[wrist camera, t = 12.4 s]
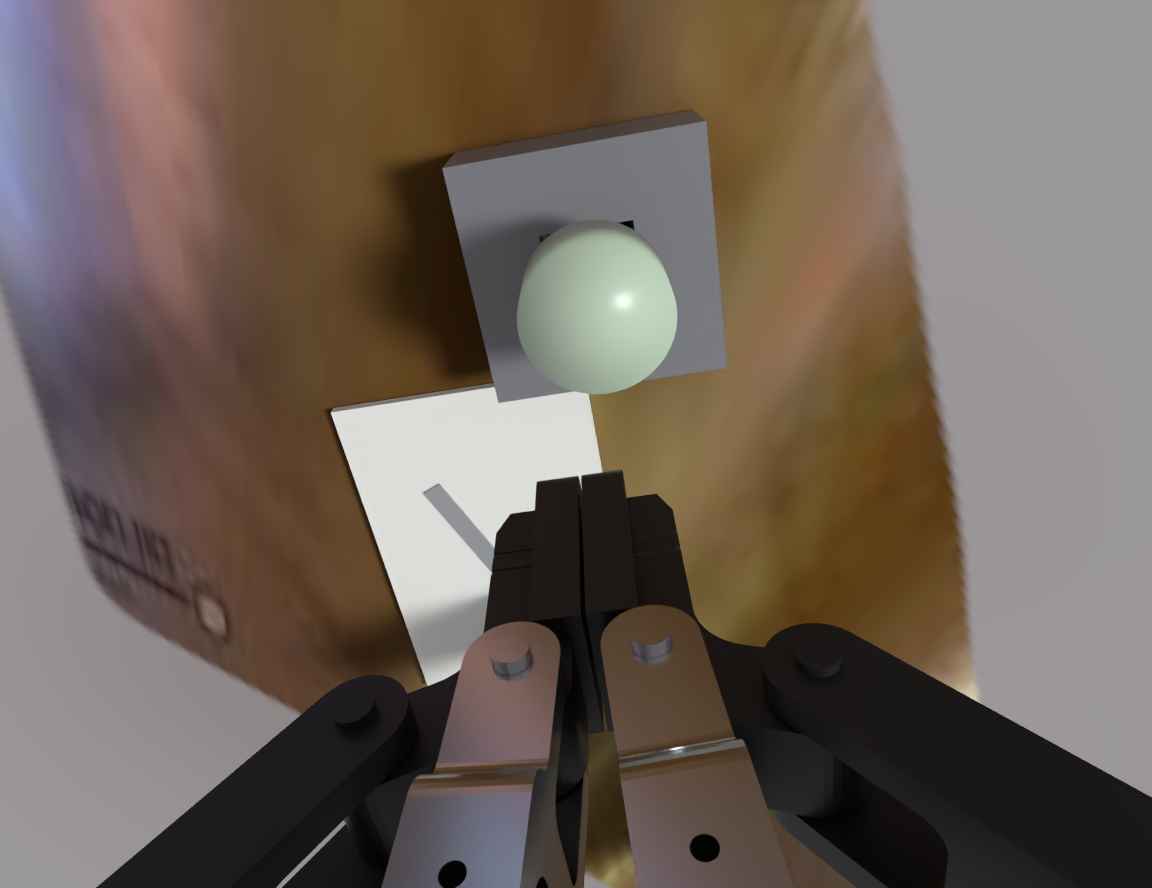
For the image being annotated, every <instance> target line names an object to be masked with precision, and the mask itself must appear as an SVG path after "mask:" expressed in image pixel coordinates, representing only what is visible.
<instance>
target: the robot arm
mask: <svg viewBox="0 0 1152 888" xmlns="http://www.w3.org/2000/svg"><path fill="white" fill-rule="evenodd" d="M581 487H582V489H581ZM602 701H603V702H602ZM603 706H604V711H605V716H606V721H607V726H608V731H614V734H615V741H616V747H617V753H618V766H619V773H620V779H621V786H622V792H623V798H624V805H625V811H626V817H627V824H628V830H629V836H630V843H631V849H632V855H633V862H634V868H635V874H636V881H637V887H638V888H794V886H793V883H792V880H791V877H790V874H789V872H788V869H787V866H786V863H785V860H784V857H783V854H782V851H781V848H780V845H779V842H778V839H777V836H776V833H775V830H774V827H773V824H772V821H771V818H770V815H769V812H768V809H771V810H772V812H773V814H774V816H775V818H776V819H777V821H778V822H779V823H780V825H781V826H782V827H783V828H784V829H785V830H786V831H787V832H789V833H790V834H791V835H792V836H794V837H795V838H796V839H797V840H798V841H800V842H801V843H802V844H803V845H805V846H806V847H807V848H808V849H810V850H811V851H812V852H813V853H814V854H816V855H817V856H818V857H819V858H821V859H822V860H823V861H824V862H826V863H827V864H828V865H829V866H830V867H832V868H833V869H834V870H835V871H837V872H838V873H839V874H840V875H842V876H843V877H844V878H845V879H846V880H848V881H849V882H850V883H851V884H853V885H854V886H855V887H856V888H1152V797H1150V796H1148V795H1146V794H1144V793H1143V792H1141V791H1139V790H1137V789H1135V788H1133V787H1132V786H1130V785H1128V784H1126V783H1124V782H1123V781H1121V780H1119V779H1117V778H1115V777H1113V776H1112V775H1110V774H1108V773H1106V772H1104V771H1102V770H1101V769H1099V768H1097V767H1095V766H1093V765H1092V764H1090V763H1088V762H1086V761H1084V760H1082V759H1081V758H1079V757H1077V756H1075V755H1073V754H1071V753H1070V752H1068V751H1066V750H1064V749H1062V748H1060V747H1059V746H1057V745H1055V744H1053V743H1051V742H1049V741H1048V740H1046V739H1044V738H1042V737H1040V736H1039V735H1037V734H1035V733H1033V732H1031V731H1029V730H1028V729H1026V728H1024V727H1022V726H1020V725H1018V724H1017V723H1015V722H1013V721H1011V720H1009V719H1008V718H1006V717H1004V716H1002V715H1000V714H998V713H997V712H995V711H993V710H991V709H989V708H987V707H986V706H984V705H982V704H980V703H978V702H977V701H975V700H973V699H971V698H969V697H967V696H966V695H964V694H962V693H960V692H958V691H957V690H955V689H953V688H951V687H949V686H947V685H946V684H944V683H942V682H940V681H938V680H936V679H935V678H933V677H931V676H929V675H927V674H926V673H924V672H922V671H920V670H918V669H916V668H915V667H913V666H911V665H909V664H907V663H905V662H904V661H902V660H900V659H898V658H896V657H894V656H893V655H891V654H889V653H887V652H885V651H884V650H882V649H880V648H878V647H876V646H874V645H873V644H871V643H869V642H867V641H865V640H863V639H862V638H860V637H858V636H856V635H854V634H853V633H851V632H849V631H846V630H844V629H842V628H839V627H836V626H832V625H827V624H819V623H806V624H799V625H795V626H791V627H788V628H786V629H784V630H782V631H780V632H778V633H777V634H775V635H774V636H773V637H772V638H771V639H770V640H769V641H768V643H767V644H766V646H765V648H764V647H756V646H748V645H742V644H736V643H732V642H729V641H726V640H723V639H721V638H719V637H717V636H715V635H713V634H712V633H710V632H709V631H707V630H706V629H705V628H704V627H703V626H702V625H701V624H700V623H699V621H698V620H697V618H696V616H695V614H694V611H693V607H692V602H691V597H690V592H689V587H688V583H687V578H686V573H685V568H684V563H683V558H682V554H681V550H680V544H679V539H678V534H677V529H676V524H675V520H674V515H673V510H672V509H671V508H670V507H669V506H668V505H667V504H666V503H665V502H664V501H663V500H662V499H661V498H660V497H659V496H658V495H657V494H652V495H644V496H637V497H629V498H627V496H626V490H625V483H624V476H623V470H616V471H608V472H601V473H594V474H587V475H582V476H581V484H580V480H579V477H578V476H573V477H566V478H559V479H551V480H544V481H537V484H536V499H535V510H534V511H527V512H520V513H512V514H510V515H509V516H508V518H507V519H506V521H505V522H504V523H503V525H502V526H501V527H500V529H499V530H498V532H497V533H496V540H495V547H494V558H493V563H492V575H491V578H490V586H489V594H488V602H487V610H486V617H485V625H484V633H483V634H482V635H480V636H479V637H478V638H477V639H476V640H475V641H474V642H473V643H472V644H471V645H470V646H469V648H468V649H467V651H466V653H465V655H464V658H463V661H462V665H461V669H460V670H459V671H458V672H456V673H455V674H453V675H451V676H450V677H448V678H446V679H444V680H442V681H439V682H437V683H434V684H432V685H429V686H427V687H424V688H421V689H419V690H416V691H414V692H411V693H408V694H407V693H406V691H405V689H404V687H403V686H402V685H401V684H400V683H399V682H397V681H396V680H394V679H392V678H390V677H386V676H380V675H370V676H363V677H358V678H355V679H352V680H349V681H347V682H345V683H342V684H340V685H339V686H337V687H335V688H334V689H332V690H331V691H329V692H328V693H327V694H325V695H324V696H323V697H322V698H321V699H319V700H318V701H317V702H316V703H315V704H313V705H312V706H311V707H310V708H309V709H307V710H306V711H305V712H304V713H303V714H302V715H300V716H299V717H298V718H297V719H296V720H294V721H293V722H292V723H291V724H290V725H289V726H287V727H286V728H285V729H284V730H283V731H281V732H280V733H279V734H278V735H277V736H276V737H274V738H273V739H272V740H271V741H270V742H268V743H267V744H266V745H265V746H264V747H262V748H261V749H260V750H259V751H258V752H257V753H255V754H254V755H253V756H252V757H251V758H250V759H248V760H247V761H246V762H245V763H244V764H242V765H241V766H240V767H239V768H238V769H236V770H235V771H234V772H233V773H232V774H230V775H229V776H228V777H227V778H226V779H225V780H223V781H222V782H221V783H220V784H219V785H217V786H216V787H215V788H214V789H213V790H212V791H210V792H209V793H208V794H207V795H206V796H204V797H203V798H202V799H201V800H200V801H198V802H197V803H196V804H195V805H194V806H193V807H191V808H190V809H189V810H188V811H187V812H185V813H184V814H183V815H182V816H181V817H179V819H177V820H176V821H175V822H174V823H172V824H171V825H170V826H169V827H168V828H166V829H165V830H164V831H163V832H162V833H161V834H159V835H158V836H157V837H156V838H155V839H153V840H152V841H151V842H150V843H149V844H148V845H146V846H145V847H144V848H143V849H142V850H140V851H139V852H138V853H137V854H136V855H134V856H133V857H132V858H131V859H130V860H128V861H127V862H126V863H125V864H124V865H123V866H121V867H120V868H119V869H118V870H117V871H115V872H114V873H113V874H112V875H111V876H110V877H108V878H107V879H106V880H105V881H104V882H102V883H101V884H100V885H99V886H98V887H96V888H276V887H277V886H278V885H279V883H281V881H282V880H283V879H284V878H285V877H286V876H287V875H288V874H289V873H290V872H291V871H292V870H293V869H294V868H295V867H296V866H297V865H298V864H299V863H300V862H301V861H302V860H303V859H304V858H306V856H308V854H310V853H311V852H312V851H313V850H314V849H315V848H316V847H317V846H318V845H319V843H321V842H322V841H323V840H324V838H326V837H327V836H328V835H329V834H330V833H331V832H332V831H333V830H334V829H335V828H336V827H337V826H338V825H339V824H340V823H341V822H342V821H343V820H344V821H345V823H346V824H345V825H344V826H343V827H342V828H341V830H339V831H338V832H337V833H336V834H335V835H334V836H333V837H332V838H331V840H330V841H328V842H327V843H326V844H325V845H324V846H323V847H322V848H321V849H320V850H319V851H318V852H317V853H316V854H315V855H314V856H313V857H312V858H311V859H310V860H309V861H308V862H307V863H306V864H305V865H304V866H303V867H302V868H301V869H300V870H299V871H298V872H297V873H296V874H295V875H294V876H293V877H292V878H291V879H290V880H289V881H288V882H287V883H286V884H285V885H284V886H283V887H282V888H584V874H585V856H586V838H587V820H588V802H589V774H588V769H587V765H588V756H589V755H588V734H590V733H599V732H604V722H603Z"/></svg>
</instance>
